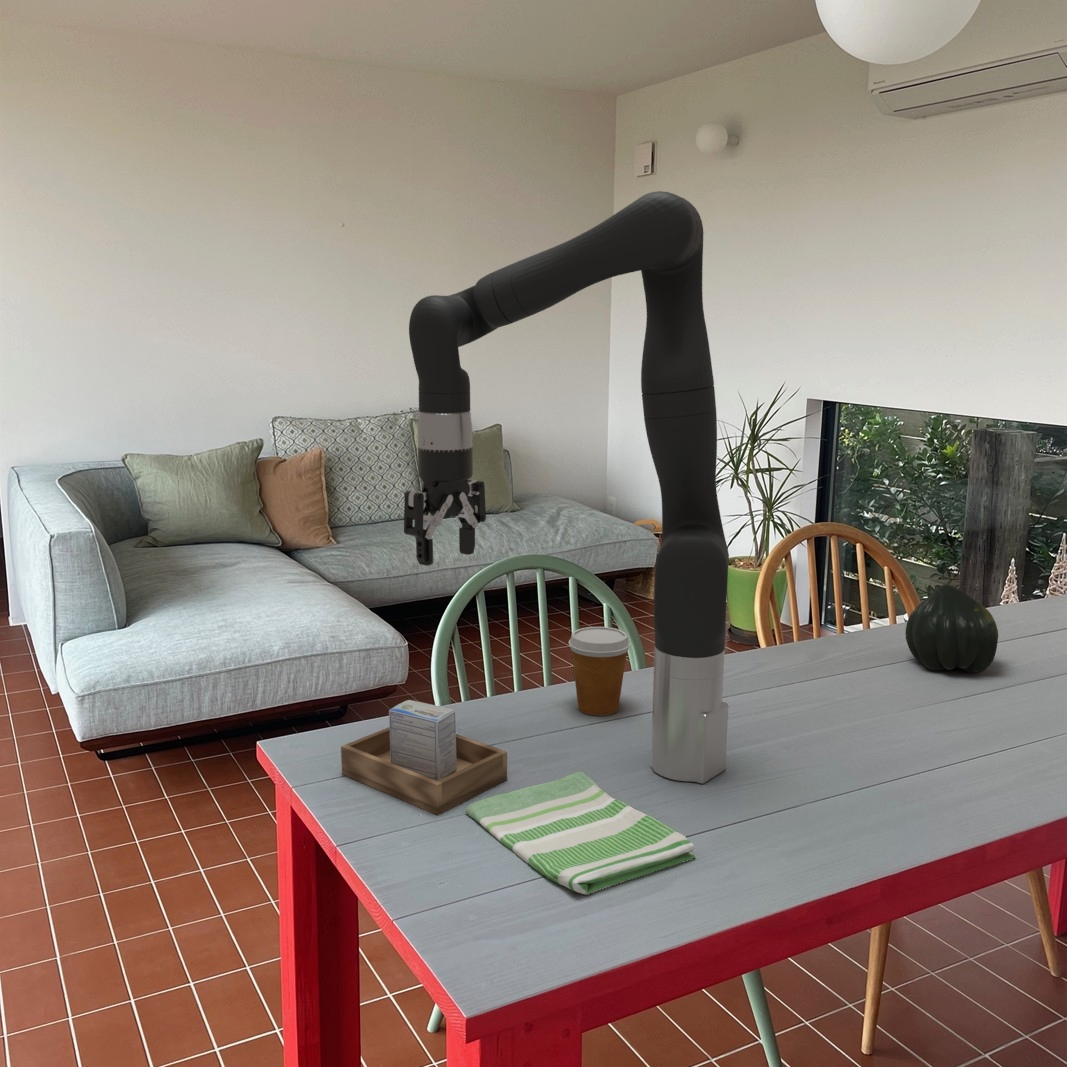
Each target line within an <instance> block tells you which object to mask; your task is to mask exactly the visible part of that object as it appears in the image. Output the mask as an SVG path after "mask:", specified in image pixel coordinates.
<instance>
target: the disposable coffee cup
mask: <svg viewBox="0 0 1067 1067" xmlns="http://www.w3.org/2000/svg"><path fill="white" fill-rule="evenodd" d="M568 646H569V647H570V650H571V655H572V663H573V666H572V667H573V672H574V682H575V691H576V700H577V709H578V710H579V712H582V713H583V714H586V715H589V714H590V716H608V715H612V714H615V713H617V712H618V711H619V707H620V700H621V693H622V687H623V686H622V685H623V680H624V672H625V667H626V660H627V654H628V652H629V648H630V646H631V642H630V640H629V637H628V634H627V633H626V632H625V631H623V630H621V629H618V628H616V627H615V628H614V627H607V626H587V627H582V628H579V629H576V630H574V631H573V632H572V633H571V636H570V639H569V640H568Z"/></svg>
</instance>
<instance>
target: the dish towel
mask: <svg viewBox="0 0 1067 1067" xmlns="http://www.w3.org/2000/svg"><path fill="white" fill-rule="evenodd" d="M465 813H466V814H467V815H468V816H469V817H470V818H472V819H474V820H475V821H476V822H477V823H479V825H481V827H483V828H484V829H485V830H486V831H488V832H489V834H491V835H492V836H493V837H495V838H496V839H497V840H498V841H499V842H500V843H501V844H502V845H503V846H504V847H506V848H508V849H510V851H513V853H515V854H516V855H517V856H518V857H519V858H520V859H521V860H523V861H524V862H525V863H527V864H528V865H529V866H530V867H531V868H533V869H534V870H536V871H537V872H538V873H540V874H541V875H543V876H545V877H546V878H547V879H549V880H551V881H553V882H555V883H556V884H558V885H561V886H564V887H565V888H568V890H571V891H573V892H576V893H578V894H582V895H586V896H587V895H590V893H591V894H593V893H596V892H599V891H601V889H602V890H605V889H608V888H611V887H613V886H612V885H614V886H616V885H615V884H617V885H619V884H618V883H620V884H622V882H623V883H625V882H624V881H626V882H628V881H627V880H629V881H632V880H634V878H635V879H638V878H641V877H644V876H647V875H649V873H650V874H652V872H653V873H655V872H654V871H656V872H659V871H661V869H662V870H665V869H667V868H666V867H668V868H670V867H669V866H671V867H674V866H676V865H675V864H677V865H679V864H678V863H680V864H682V863H681V862H683V861H687V860H690V861H692V860H691V859H693V858H695V857H696V856H695V855H694V853H692V852H694V850H695V844H694V843H693V842H691V841H690V840H689V839H688V838H687V837H686V836H685V835H684V834H682V833H680V832H679V831H678V830H675V829H674V828H672V827H670V826H668V825H666V824H665V823H664V822H661V821H659V820H657V819H655V818H654V817H652V816H650V815H648V814H646V813H643V812H642V811H640V810H637V809H635V808H633V807H631V806H630V805H629V804H627V803H626V802H623V801H622V800H619V799H616V798H613V797H611V795H609V794H608V793H606V792H605V791H604V790H602V789H601V788H600V787H599V786H598V785H597V784H596V782H595V781H593V779H591V778H590V777H589V776H588V775H587V774H585V773H584V772H583V771H575V772H573V773H570V774H567V775H565V776H564V777H562V778H560V779H557V780H553V781H549V782H544V783H540V784H535V785H532V786H527V787H524V788H520V789H516V790H513V791H509V792H506V793H505V792H504V793H501V794H496V795H491V796H489V797H488V796H487V797H486V798H483V799H480V800H478V801H475V802H472V803H470V804H469V805H468V806H467V807H466V808H465ZM695 859H696V858H695ZM693 860H694V859H693ZM687 862H688V861H687ZM673 865H674V866H673ZM664 868H665V869H664ZM658 870H659V871H658ZM646 874H647V875H646ZM643 875H644V876H643ZM640 876H641V877H640ZM637 877H638V878H637ZM631 879H632V880H631ZM610 886H611V887H610ZM607 887H608V888H607ZM604 888H605V889H604ZM598 890H599V891H598Z"/></svg>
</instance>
